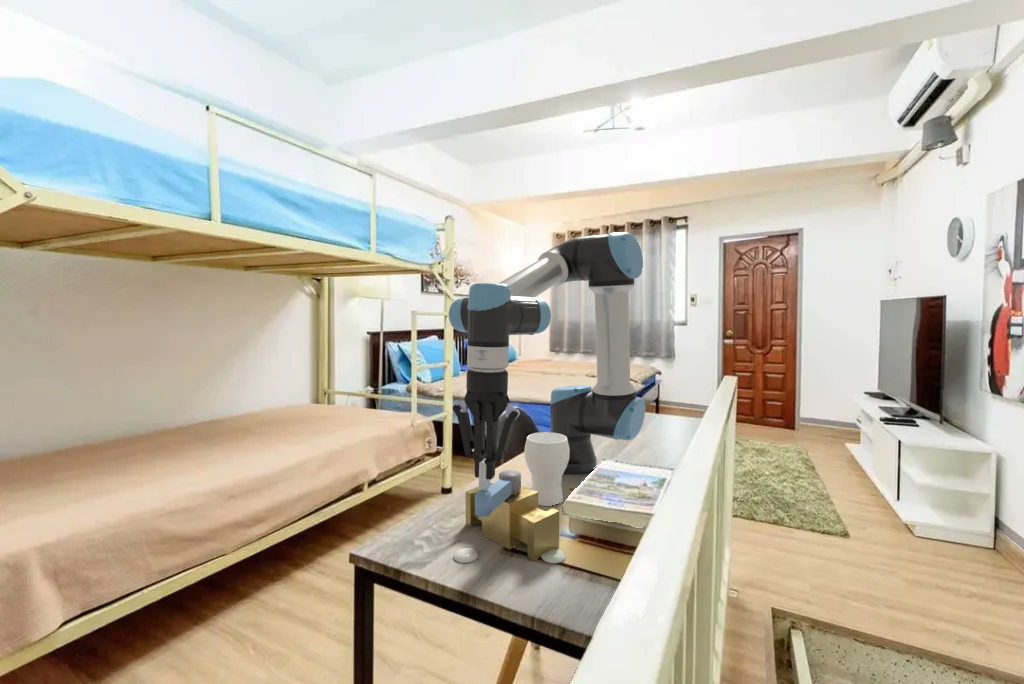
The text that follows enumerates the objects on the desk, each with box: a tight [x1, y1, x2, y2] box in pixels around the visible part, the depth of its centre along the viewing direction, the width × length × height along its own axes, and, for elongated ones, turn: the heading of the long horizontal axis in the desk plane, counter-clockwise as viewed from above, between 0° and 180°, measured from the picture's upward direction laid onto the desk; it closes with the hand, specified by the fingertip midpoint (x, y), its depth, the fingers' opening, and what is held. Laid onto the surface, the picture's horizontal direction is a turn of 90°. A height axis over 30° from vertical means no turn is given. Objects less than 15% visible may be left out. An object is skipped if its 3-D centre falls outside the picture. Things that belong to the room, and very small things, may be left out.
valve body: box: [465, 482, 560, 562], centre depth 89 cm, size 20×8×9 cm, turn 44°
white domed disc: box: [453, 547, 479, 564], centre depth 82 cm, size 4×4×1 cm
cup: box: [524, 431, 570, 507], centre depth 106 cm, size 11×11×15 cm
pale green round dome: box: [540, 548, 566, 564], centre depth 82 cm, size 4×4×1 cm
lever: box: [475, 469, 522, 517], centre depth 84 cm, size 15×4×4 cm, turn 155°
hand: (484, 494), depth 83 cm, fingers closed
